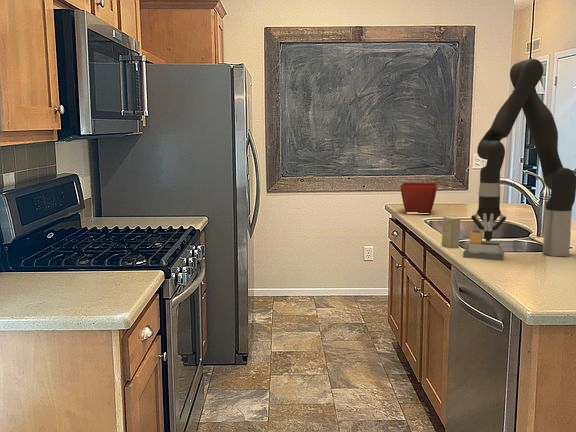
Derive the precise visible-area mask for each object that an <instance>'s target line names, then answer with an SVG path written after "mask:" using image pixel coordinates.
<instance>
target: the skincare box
mask: <svg viewBox="0 0 576 432" xmlns="http://www.w3.org/2000/svg"><path fill="white" fill-rule="evenodd" d="M442 218H443V219H442V234H441V246H443V247H446V248H449V249H456V248H460V247H459V246H460V232H461V217H457V216H452V215H451V216H450V215H449V216H448V215H447V216H443V217H442Z"/></svg>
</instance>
